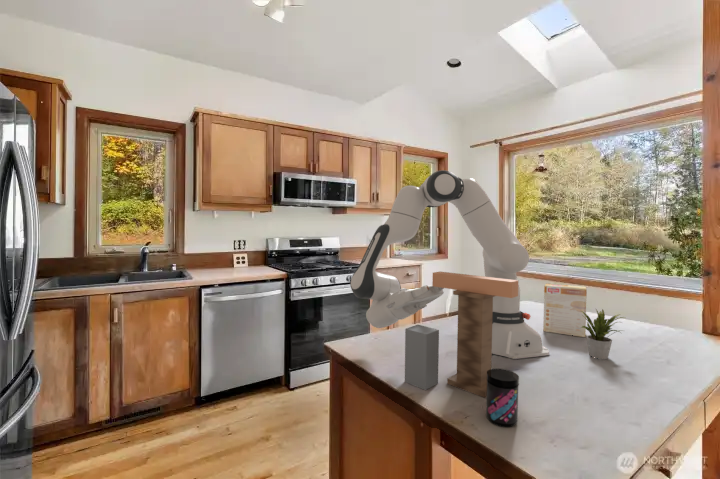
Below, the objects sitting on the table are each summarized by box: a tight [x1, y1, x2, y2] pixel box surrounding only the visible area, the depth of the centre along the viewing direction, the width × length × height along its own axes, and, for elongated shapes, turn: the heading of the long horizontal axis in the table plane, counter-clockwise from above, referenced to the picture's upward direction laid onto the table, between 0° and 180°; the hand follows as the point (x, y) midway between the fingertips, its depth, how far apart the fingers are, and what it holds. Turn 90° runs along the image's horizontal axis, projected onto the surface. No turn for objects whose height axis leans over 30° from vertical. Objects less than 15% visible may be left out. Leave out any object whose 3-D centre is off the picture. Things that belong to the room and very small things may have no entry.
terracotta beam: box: [431, 271, 519, 298], centre depth 96 cm, size 23×4×4 cm, turn 45°
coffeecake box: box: [542, 283, 587, 338], centre depth 146 cm, size 15×7×20 cm, turn 58°
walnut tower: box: [446, 290, 495, 398], centre depth 96 cm, size 11×9×26 cm
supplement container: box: [485, 368, 520, 428], centre depth 79 cm, size 7×7×10 cm
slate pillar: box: [404, 324, 440, 391], centre depth 98 cm, size 7×6×15 cm
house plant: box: [581, 308, 625, 360], centre depth 118 cm, size 14×14×16 cm
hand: (436, 286), depth 105 cm, fingers open, 8 cm apart
